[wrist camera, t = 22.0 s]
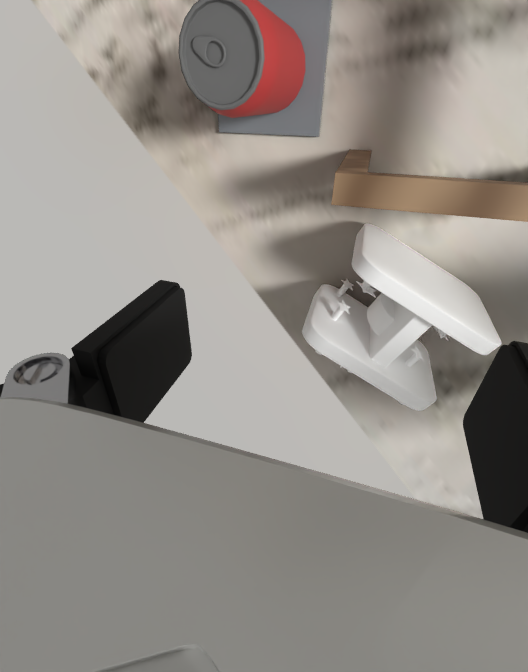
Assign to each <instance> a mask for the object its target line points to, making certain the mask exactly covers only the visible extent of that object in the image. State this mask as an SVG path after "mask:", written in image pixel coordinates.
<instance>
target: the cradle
mask: <svg viewBox="0 0 528 672" xmlns="http://www.w3.org/2000/svg"><path fill="white" fill-rule="evenodd" d="M370 156H371V151H368V150H349V152H348V153H347V155H346V156H345V158H344V160H343V161H342V163H341V164H340V166H339V168H338V169H337V171H336V172H335V179H334V187H333V195H332V203H331V205H341V206H352V207H364V208H375V209H387V210H398V211H410V212H421V213H433V214H445V215H456V216H468V217H479V218H491V219H502V220H514V221H525V222H528V183H525V182H510V181H495V180H479V179H464V178H449V177H433V176H418V175H402V174H387V173H372V172H368V168H369V162H370Z"/></svg>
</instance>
